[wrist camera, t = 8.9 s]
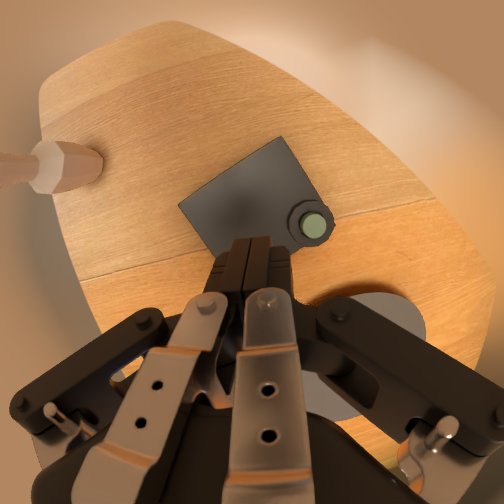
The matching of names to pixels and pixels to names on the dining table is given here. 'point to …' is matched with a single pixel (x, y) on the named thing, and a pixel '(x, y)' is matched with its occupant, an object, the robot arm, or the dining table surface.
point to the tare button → (313, 225)
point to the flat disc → (391, 308)
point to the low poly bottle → (52, 167)
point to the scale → (258, 202)
